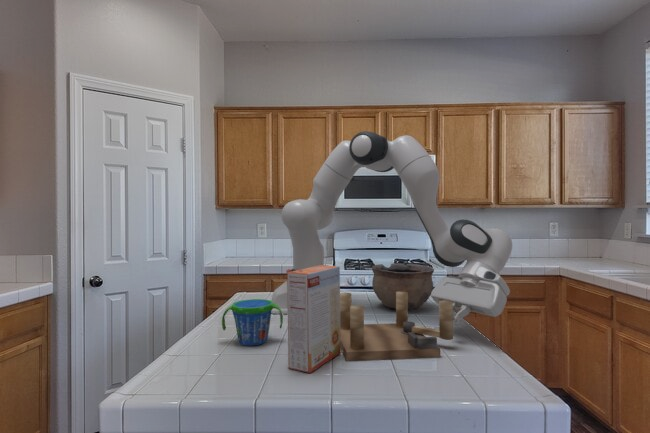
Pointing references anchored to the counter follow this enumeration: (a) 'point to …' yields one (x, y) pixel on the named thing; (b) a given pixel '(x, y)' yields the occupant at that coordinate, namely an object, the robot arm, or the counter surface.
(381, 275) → the ceramic bowl
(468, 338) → the counter surface
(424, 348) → the stool
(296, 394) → the counter surface
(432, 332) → the leg
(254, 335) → the snack cup
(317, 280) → the cracker box
